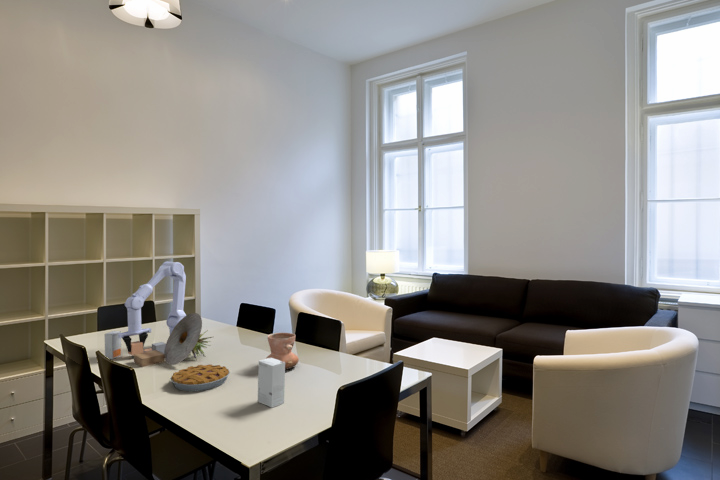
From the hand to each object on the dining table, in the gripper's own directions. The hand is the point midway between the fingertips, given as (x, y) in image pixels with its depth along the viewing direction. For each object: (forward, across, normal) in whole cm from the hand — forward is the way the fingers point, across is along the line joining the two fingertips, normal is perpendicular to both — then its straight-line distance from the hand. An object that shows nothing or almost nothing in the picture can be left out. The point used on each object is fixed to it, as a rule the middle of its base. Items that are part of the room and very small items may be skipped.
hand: (135, 350), depth 212 cm
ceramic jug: (+4, +36, -65) cm, 74 cm away
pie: (+4, +3, -56) cm, 56 cm away
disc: (+4, +15, -23) cm, 28 cm away
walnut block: (+4, +1, -13) cm, 14 cm away
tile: (+3, +8, +5) cm, 10 cm away
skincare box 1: (+3, -7, +8) cm, 11 cm away
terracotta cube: (+1, 0, 0) cm, 1 cm away
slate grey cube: (+3, +10, -3) cm, 11 cm away
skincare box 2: (+3, +9, -94) cm, 94 cm away
